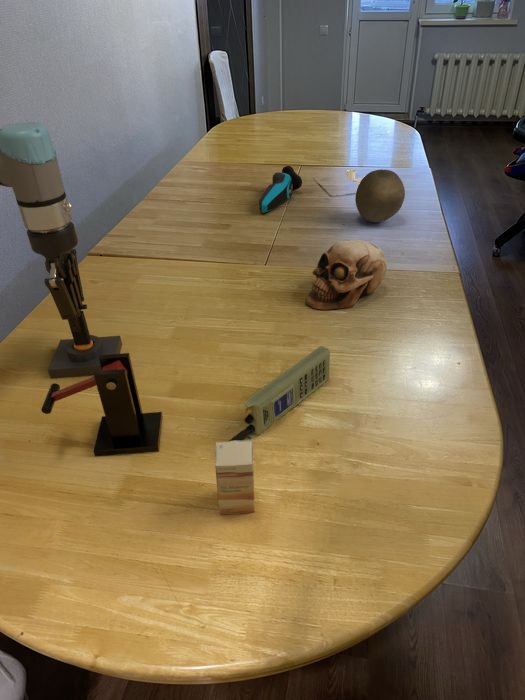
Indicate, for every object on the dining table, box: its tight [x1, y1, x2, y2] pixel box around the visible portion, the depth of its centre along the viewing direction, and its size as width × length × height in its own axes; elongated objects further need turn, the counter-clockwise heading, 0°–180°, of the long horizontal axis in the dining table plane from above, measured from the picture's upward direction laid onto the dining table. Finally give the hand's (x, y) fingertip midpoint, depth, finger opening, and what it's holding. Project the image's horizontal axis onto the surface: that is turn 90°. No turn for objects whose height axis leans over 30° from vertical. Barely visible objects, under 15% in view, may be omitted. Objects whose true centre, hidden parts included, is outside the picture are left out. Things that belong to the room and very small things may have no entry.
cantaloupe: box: [354, 168, 406, 223], centre depth 150 cm, size 14×14×15 cm
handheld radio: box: [228, 346, 331, 441], centre depth 86 cm, size 7×3×25 cm
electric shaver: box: [258, 165, 303, 214], centre depth 169 cm, size 9×26×10 cm
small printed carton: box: [214, 439, 255, 515], centre depth 70 cm, size 5×4×10 cm
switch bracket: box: [92, 352, 163, 457], centre depth 80 cm, size 10×8×15 cm
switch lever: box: [40, 360, 127, 415], centre depth 78 cm, size 13×6×2 cm, turn 95°
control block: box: [47, 334, 123, 380], centre depth 101 cm, size 12×10×4 cm
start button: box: [74, 340, 94, 351], centre depth 100 cm, size 4×4×2 cm
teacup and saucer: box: [345, 168, 362, 183], centre depth 184 cm, size 9×8×4 cm
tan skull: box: [304, 239, 388, 311], centre depth 117 cm, size 16×17×13 cm
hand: (83, 342), depth 99 cm, fingers closed
